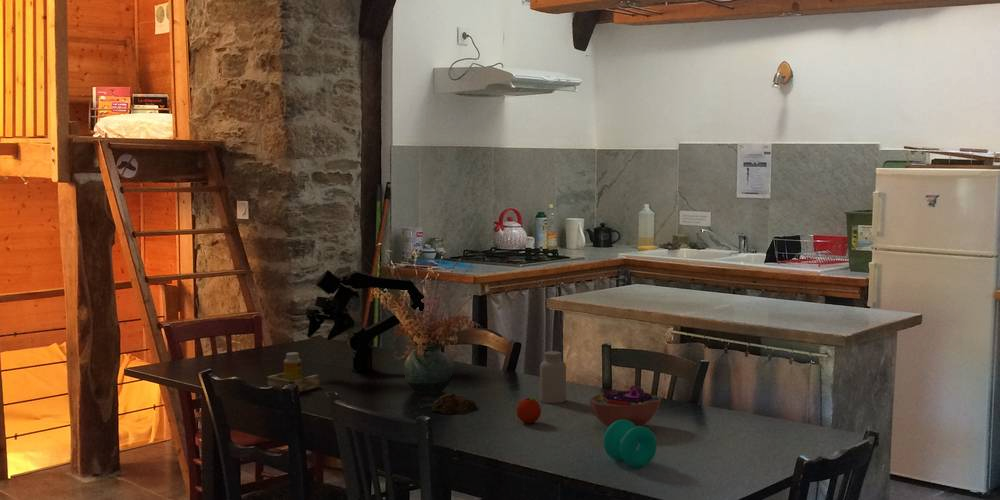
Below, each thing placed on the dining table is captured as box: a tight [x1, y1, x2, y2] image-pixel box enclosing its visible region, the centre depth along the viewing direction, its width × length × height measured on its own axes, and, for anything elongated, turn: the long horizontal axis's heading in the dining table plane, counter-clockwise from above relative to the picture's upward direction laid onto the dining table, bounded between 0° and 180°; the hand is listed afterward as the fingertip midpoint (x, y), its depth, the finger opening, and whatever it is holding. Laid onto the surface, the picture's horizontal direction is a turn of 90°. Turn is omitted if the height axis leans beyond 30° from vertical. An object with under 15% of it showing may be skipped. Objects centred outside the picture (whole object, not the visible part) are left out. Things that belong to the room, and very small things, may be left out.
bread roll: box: [431, 393, 478, 415], centre depth 304 cm, size 13×12×5 cm
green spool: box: [603, 420, 658, 469], centre depth 249 cm, size 10×10×10 cm
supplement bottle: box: [283, 351, 303, 380], centre depth 332 cm, size 6×6×10 cm
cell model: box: [589, 385, 662, 427], centre depth 282 cm, size 17×20×11 cm
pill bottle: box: [539, 350, 567, 405], centre depth 313 cm, size 8×8×15 cm
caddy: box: [265, 372, 320, 393], centre depth 333 cm, size 12×12×4 cm
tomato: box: [515, 397, 544, 424], centre depth 288 cm, size 8×7×7 cm
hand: (318, 338), depth 347 cm, fingers open, 9 cm apart
